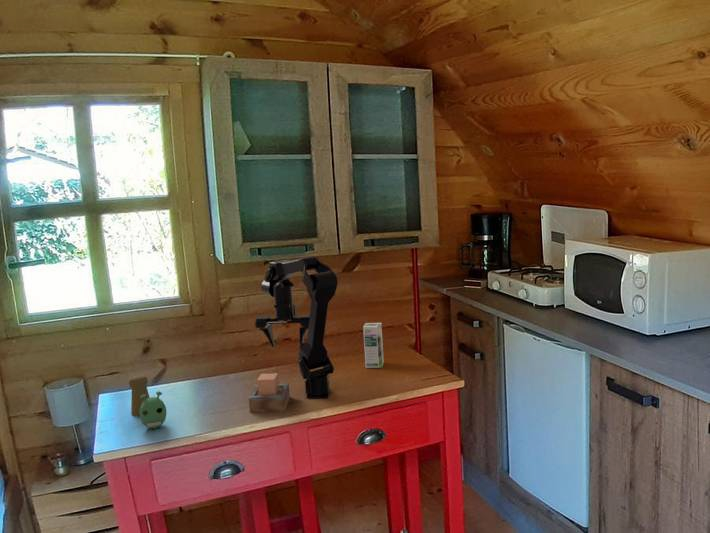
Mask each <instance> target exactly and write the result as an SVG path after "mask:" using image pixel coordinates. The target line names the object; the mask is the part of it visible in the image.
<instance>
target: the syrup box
mask: <svg viewBox="0 0 710 533" xmlns="http://www.w3.org/2000/svg"><path fill="white" fill-rule="evenodd" d="M362 330H363V333H362V334H363V344H364V345H363V346H364V360H365V361H364V362H365V365H364V367H365V368H366V369H382V368H383V366H384V363H385V361H384V360H385V359H384V346H383V345H384V344H383V328H382V322H365V324H364V325H363V328H362Z"/></svg>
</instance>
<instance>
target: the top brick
mask: <svg viewBox="0 0 710 533" xmlns="http://www.w3.org/2000/svg"><path fill="white" fill-rule="evenodd" d="M279 381H280V380H279V373H275V372H274V373H261V374H260V375H259V377H257V379H256V382H257V384H256V385H258V395H259V396H262V395H276V394H277V393H278V391H279V384H280V382H279Z"/></svg>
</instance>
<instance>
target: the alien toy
mask: <svg viewBox="0 0 710 533" xmlns="http://www.w3.org/2000/svg"><path fill="white" fill-rule="evenodd" d="M155 394H156V395H157V397H156V396H150V398H148V399H145V397H146V395H145V394H143V395H141V397H140V398H141V399H144V402H143V403H142V405H141V407H140V412H139V413H140V416H139V418H140V422H141V423H142V425H143V426H145V427H146V428H147V429H148V428H149V429H157V428H160V427H161V426H162V425H163V424H164V423H165V421H166V418H167V413H168V412H167V407H166V404H165V403H164V401H163V399H160V396H162V395H163V393H162V392H161V391H156V393H155Z"/></svg>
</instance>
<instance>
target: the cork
mask: <svg viewBox="0 0 710 533" xmlns="http://www.w3.org/2000/svg"><path fill="white" fill-rule="evenodd" d="M148 382H149V380H148V377H147V376H146V375H145V374H136V375H133V376H131V377H130V378H129V380H128V385H129V386H128V387H129V388H131V406H130V407H131V410H130V411H131V415H132V416H135V417H140V413H139V412H140V407H141V405H142V403H143V402H144V399H141V398H140V397H141V395H143V394H145V395H146V397H145V399H148V398H151V396H150V394H149V390H148V387H147V385H148V384H149V383H148Z"/></svg>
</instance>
